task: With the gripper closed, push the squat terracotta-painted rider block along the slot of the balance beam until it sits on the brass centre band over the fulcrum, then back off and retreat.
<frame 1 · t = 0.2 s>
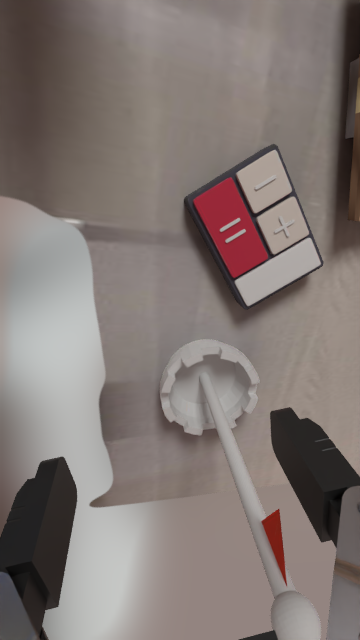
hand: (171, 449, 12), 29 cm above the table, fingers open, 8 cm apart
calculator: (249, 230, 39), on the table
flag stand: (202, 372, 46), on the table
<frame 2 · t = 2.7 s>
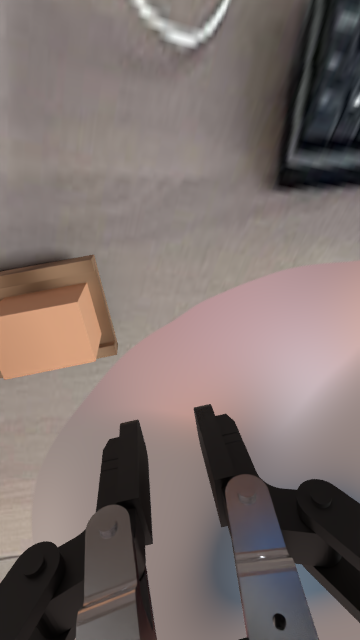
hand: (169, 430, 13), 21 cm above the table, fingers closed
rider: (54, 316, 28), point 4 cm above the table, touching beam
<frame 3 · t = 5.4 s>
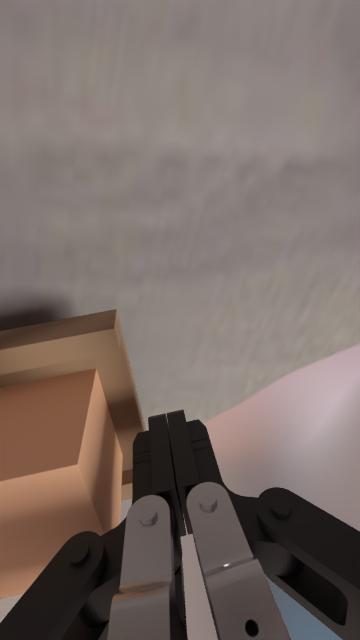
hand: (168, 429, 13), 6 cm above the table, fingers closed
rider: (31, 431, 14), point 4 cm above the table, touching beam, gripper
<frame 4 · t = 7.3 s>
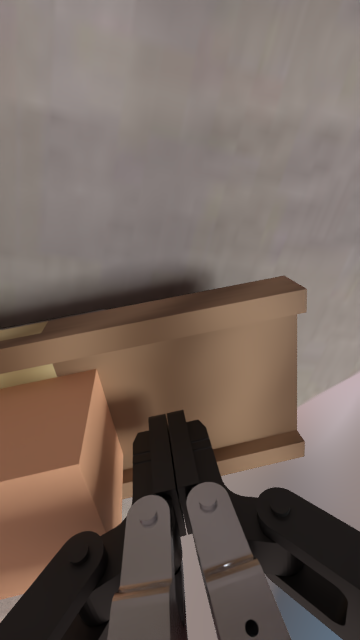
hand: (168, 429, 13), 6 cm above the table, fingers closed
beam: (59, 377, 18), on the table
rider: (32, 432, 14), point 4 cm above the table, touching beam, gripper
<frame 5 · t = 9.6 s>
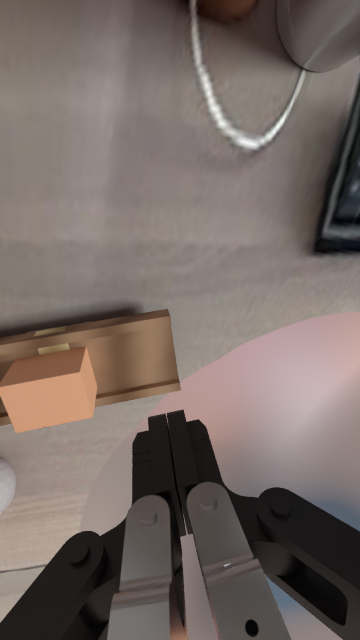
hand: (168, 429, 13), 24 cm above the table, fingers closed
beam: (67, 353, 37), on the table
rider: (58, 373, 33), point 4 cm above the table, touching beam
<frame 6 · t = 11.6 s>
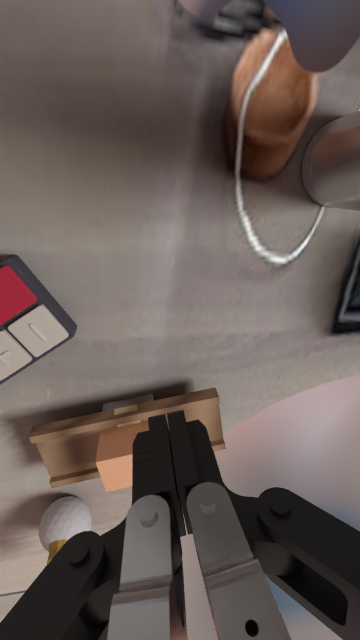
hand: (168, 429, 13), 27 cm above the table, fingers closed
calculator: (0, 322, 39), on the table
beam: (133, 417, 46), on the table
perfume bottle: (74, 506, 51), on the table
rider: (130, 440, 42), point 4 cm above the table, touching beam
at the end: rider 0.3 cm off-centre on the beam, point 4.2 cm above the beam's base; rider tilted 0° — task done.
